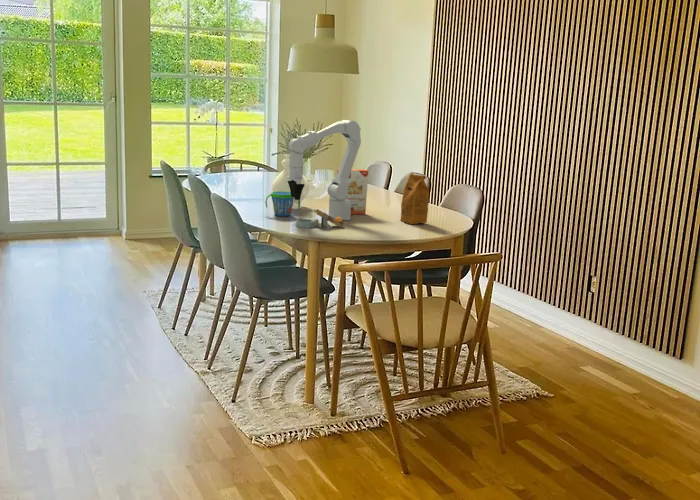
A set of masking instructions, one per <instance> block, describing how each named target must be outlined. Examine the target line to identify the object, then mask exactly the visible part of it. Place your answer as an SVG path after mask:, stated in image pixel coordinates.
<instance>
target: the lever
mask: <svg viewBox="0 0 700 500" xmlns="http://www.w3.org/2000/svg"><path fill="white" fill-rule="evenodd" d="M312 210H313V212H314V213H315V214H316V215H317V216H319V217H321V218H324V216H328V222H330V223H332V224H334V225H335V226H337V227H339V228H341V229H342V227H344V226H343V225H345V222H344V220H342V222H341V223H339V222H338V221H336V220H335V219H334V218H333V217H331V216H329V214H327V213H326V212H325V211H324V212H323V211H322V210H320V209H318V208H315V207H313V208H312ZM325 213H326V214H325Z"/></svg>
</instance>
